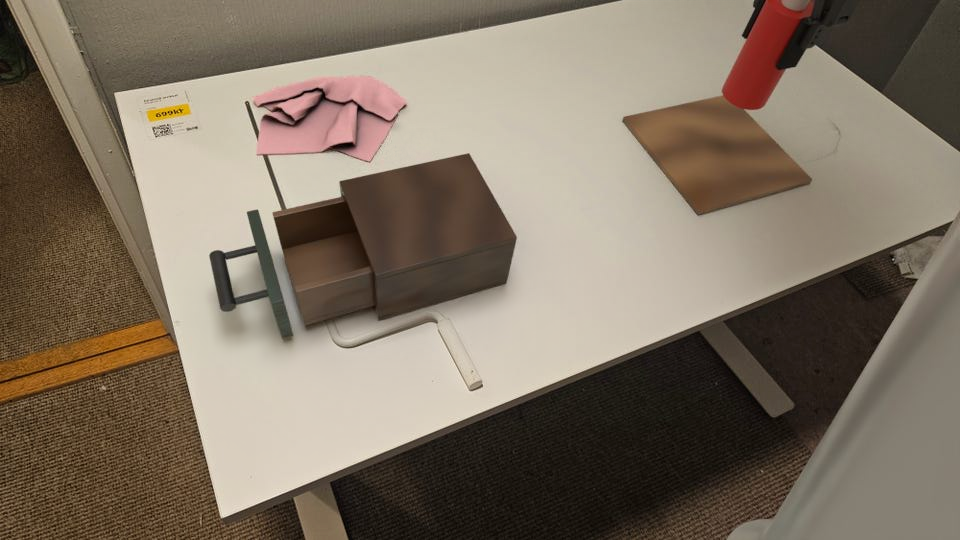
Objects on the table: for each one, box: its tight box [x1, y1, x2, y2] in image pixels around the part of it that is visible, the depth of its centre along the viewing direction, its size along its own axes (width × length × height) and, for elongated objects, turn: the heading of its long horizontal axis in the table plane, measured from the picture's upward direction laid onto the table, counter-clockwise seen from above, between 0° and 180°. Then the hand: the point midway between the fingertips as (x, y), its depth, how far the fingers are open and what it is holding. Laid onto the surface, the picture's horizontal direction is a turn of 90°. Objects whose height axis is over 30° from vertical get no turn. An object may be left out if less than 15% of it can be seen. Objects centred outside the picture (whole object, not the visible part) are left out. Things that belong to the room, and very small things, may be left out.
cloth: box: [252, 75, 408, 163], centre depth 85 cm, size 20×22×2 cm
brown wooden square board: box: [622, 94, 813, 216], centre depth 90 cm, size 20×20×1 cm
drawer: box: [208, 196, 376, 340], centre depth 66 cm, size 19×12×7 cm, turn 113°
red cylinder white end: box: [721, 0, 815, 111], centre depth 76 cm, size 6×6×15 cm
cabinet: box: [338, 152, 518, 321], centre depth 70 cm, size 16×14×9 cm
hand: (768, 50), depth 76 cm, fingers closed on red cylinder white end, 6 cm apart
